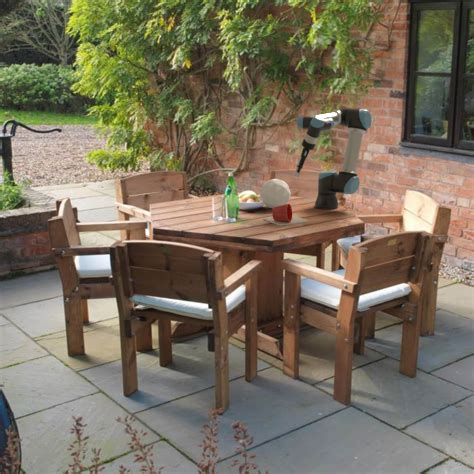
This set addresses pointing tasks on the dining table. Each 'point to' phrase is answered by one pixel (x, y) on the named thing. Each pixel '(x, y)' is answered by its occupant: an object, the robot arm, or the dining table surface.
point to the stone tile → (294, 221)
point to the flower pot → (282, 213)
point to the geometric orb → (275, 193)
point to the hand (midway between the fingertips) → (297, 171)
